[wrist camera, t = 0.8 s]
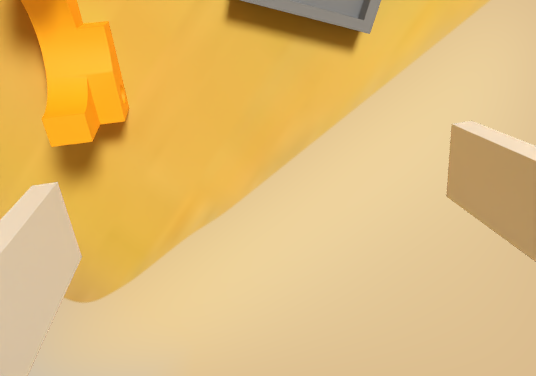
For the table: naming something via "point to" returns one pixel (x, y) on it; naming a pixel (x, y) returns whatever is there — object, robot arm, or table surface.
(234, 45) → the table surface
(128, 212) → the table surface
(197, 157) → the table surface
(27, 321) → the robot arm
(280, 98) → the table surface
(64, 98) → the pipe clamp
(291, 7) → the tray
